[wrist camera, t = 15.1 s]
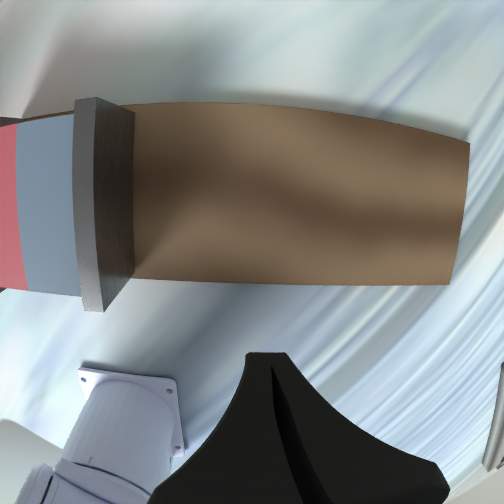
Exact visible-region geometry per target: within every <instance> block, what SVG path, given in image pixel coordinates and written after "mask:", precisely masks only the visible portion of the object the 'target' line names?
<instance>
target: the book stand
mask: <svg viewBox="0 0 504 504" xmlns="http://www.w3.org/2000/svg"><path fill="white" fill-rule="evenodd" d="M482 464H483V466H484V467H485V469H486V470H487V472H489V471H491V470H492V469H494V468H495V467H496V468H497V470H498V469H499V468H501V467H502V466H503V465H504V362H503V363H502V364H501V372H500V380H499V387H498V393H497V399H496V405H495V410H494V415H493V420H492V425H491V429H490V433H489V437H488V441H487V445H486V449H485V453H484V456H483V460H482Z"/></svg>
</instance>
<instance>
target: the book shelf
mask: <svg viewBox="0 0 504 504" xmlns="http://www.w3.org/2000/svg"><path fill="white" fill-rule="evenodd" d="M120 107H123V108H125V109H128V110H130V111H133V112H135V124H134V145H133V233H134V254H135V271H136V272H135V273H134V274H133V276H132V277H131V278H137V279H155V280H175V281H197V282H222V283H252V284H290V285H449V284H450V280H451V275H452V271H453V267H454V262H455V258H456V253H457V248H458V242H459V237H460V231H461V225H462V219H463V213H464V205H465V198H466V189H467V180H468V169H469V155H470V143H468V142H465V141H461V140H458V139H455V138H451V137H448V136H444V135H441V134H437V133H433V132H429V131H425V130H421V129H417V128H413V127H409V126H404V125H400V124H395V123H391V122H386V121H381V120H376V119H370V118H365V117H359V116H353V115H347V114H341V113H334V112H327V111H320V110H312V109H303V108H294V107H283V106H271V105H258V104H239V103H198V102H193V103H152V104H134V105H121V106H120ZM69 114H74V111H68V112H61V113H55V114H49V115H43V116H37V117H32V118H27V119H19V118H7V117H0V127H3V126H7V125H12V124H17V123H22V122H27V121H32V120H38V119H43V118H49V117H56V116H62V115H69ZM5 289H6V288H4V287H0V292H2V291H3V290H5Z"/></svg>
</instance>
